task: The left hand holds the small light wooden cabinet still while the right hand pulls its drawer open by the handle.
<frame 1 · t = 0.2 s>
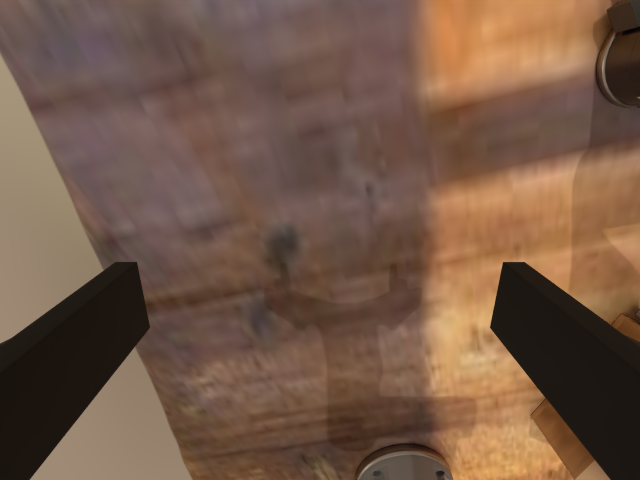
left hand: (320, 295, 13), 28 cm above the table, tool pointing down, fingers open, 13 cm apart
cabinet: (602, 380, 49), on the table
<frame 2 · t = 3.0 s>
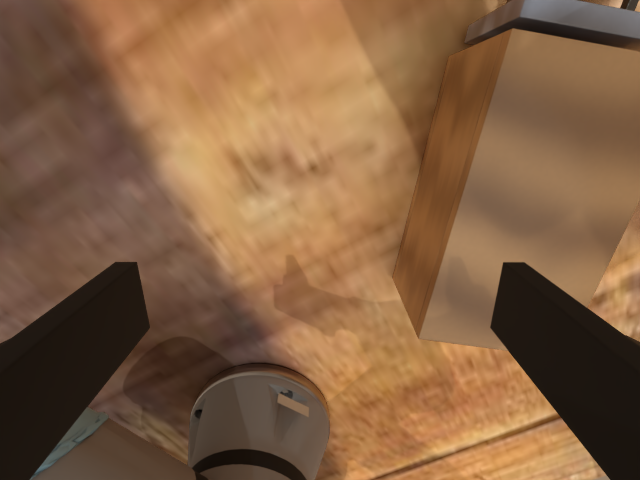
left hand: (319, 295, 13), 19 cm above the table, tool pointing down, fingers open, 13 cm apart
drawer: (528, 130, 24), point 5 cm above the table, slide at 0.8 cm
cabinet: (476, 188, 30), on the table
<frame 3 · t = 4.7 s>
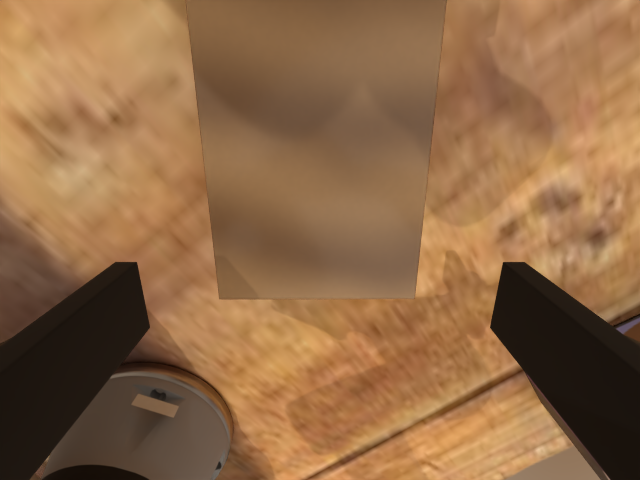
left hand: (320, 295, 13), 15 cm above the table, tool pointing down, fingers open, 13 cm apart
purple hardcover book: (622, 343, 32), on the table
cabinet: (317, 112, 25), on the table
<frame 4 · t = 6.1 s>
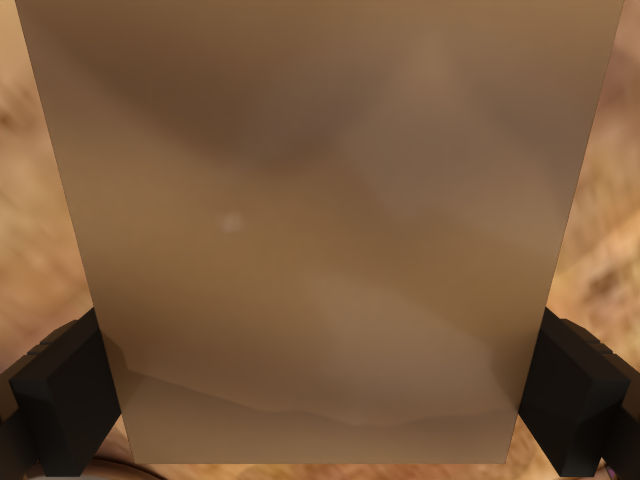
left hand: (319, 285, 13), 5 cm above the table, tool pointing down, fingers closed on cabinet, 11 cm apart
cabinet: (319, 109, 16), on the table, touching left hand
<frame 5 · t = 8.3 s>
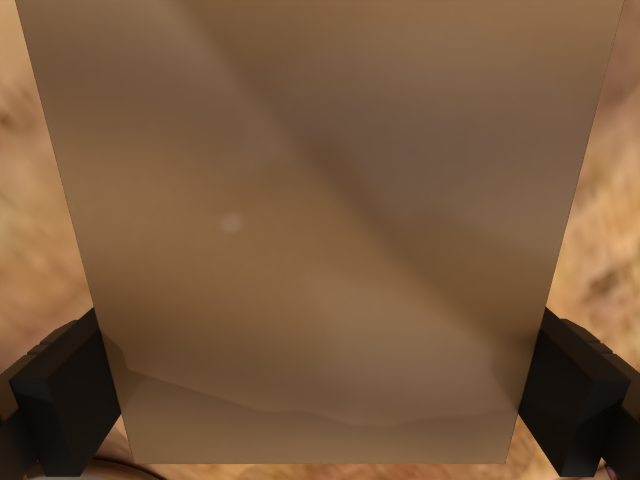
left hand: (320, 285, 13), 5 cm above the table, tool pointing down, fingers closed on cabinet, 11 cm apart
cabinet: (319, 109, 16), on the table, touching left hand
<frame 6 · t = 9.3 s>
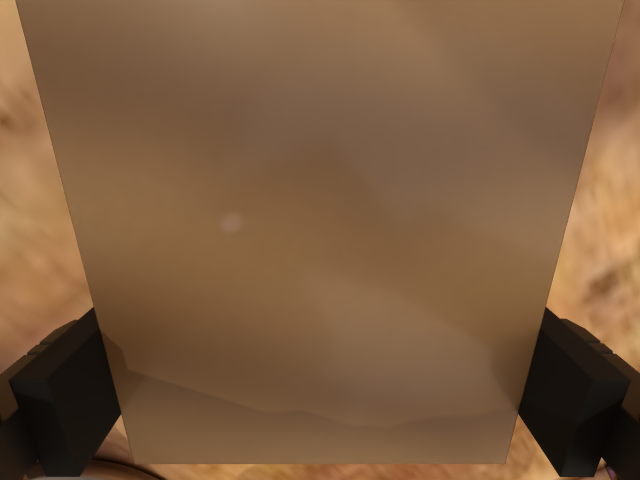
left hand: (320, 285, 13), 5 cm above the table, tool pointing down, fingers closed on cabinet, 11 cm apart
cabinet: (319, 110, 16), on the table, touching left hand
when the left hand's fingers open (5 cm above the table, at t = 11.2 s): cabinet stays where it is, on the table.
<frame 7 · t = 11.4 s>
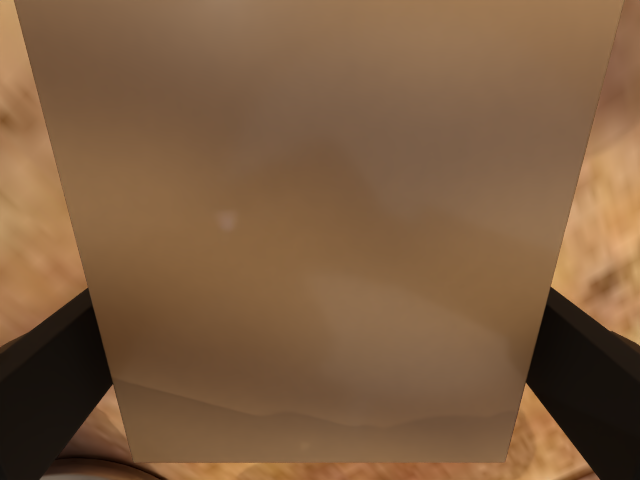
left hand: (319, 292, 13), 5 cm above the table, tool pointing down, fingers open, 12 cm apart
cabinet: (319, 108, 16), on the table
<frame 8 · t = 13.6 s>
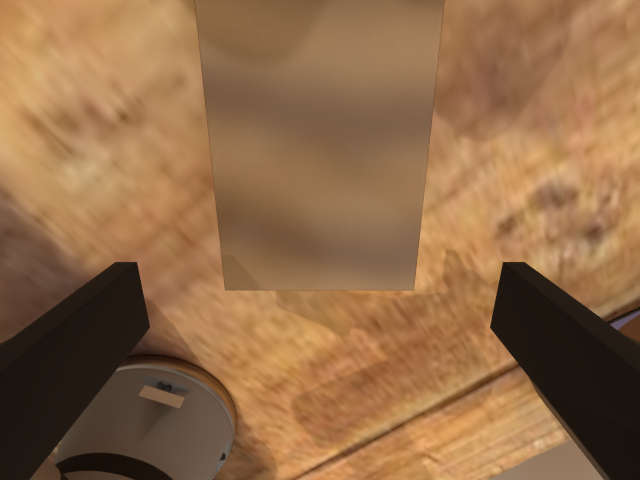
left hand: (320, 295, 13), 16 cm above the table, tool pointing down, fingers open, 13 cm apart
purple hardcover book: (619, 337, 32), on the table
cabinet: (319, 110, 25), on the table
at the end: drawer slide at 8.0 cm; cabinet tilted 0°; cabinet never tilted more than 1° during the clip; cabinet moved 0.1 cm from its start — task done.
